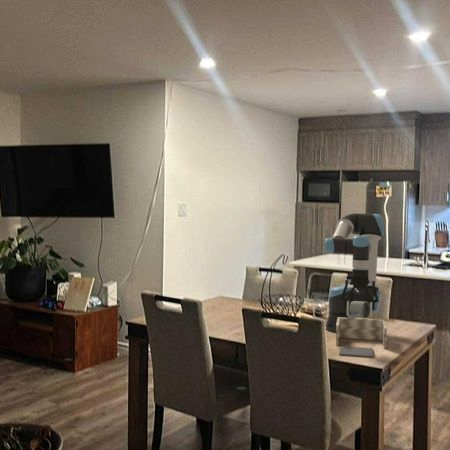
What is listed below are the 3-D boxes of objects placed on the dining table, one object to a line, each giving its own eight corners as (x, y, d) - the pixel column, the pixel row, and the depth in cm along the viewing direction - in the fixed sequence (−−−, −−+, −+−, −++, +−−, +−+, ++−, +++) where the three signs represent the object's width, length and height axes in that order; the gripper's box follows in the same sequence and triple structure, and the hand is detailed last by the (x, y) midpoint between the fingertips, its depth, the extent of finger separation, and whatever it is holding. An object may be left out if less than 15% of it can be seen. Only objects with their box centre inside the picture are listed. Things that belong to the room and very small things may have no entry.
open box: (335, 345, 273) (336, 324, 272) (337, 336, 290) (337, 317, 289) (386, 349, 268) (386, 328, 267) (384, 339, 284) (385, 320, 284)
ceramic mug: (355, 314, 273) (355, 298, 273) (370, 317, 267) (370, 301, 267) (343, 317, 265) (343, 301, 265) (358, 320, 260) (358, 303, 259)
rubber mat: (339, 355, 256) (339, 353, 256) (340, 347, 269) (340, 346, 269) (373, 357, 253) (373, 356, 253) (372, 350, 266) (372, 348, 266)
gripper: (335, 268, 265) (334, 315, 266) (385, 270, 260) (384, 318, 261) (336, 267, 273) (335, 312, 273) (385, 269, 268) (383, 315, 268)
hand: (359, 315), depth 267 cm, fingers closed on ceramic mug, 10 cm apart
